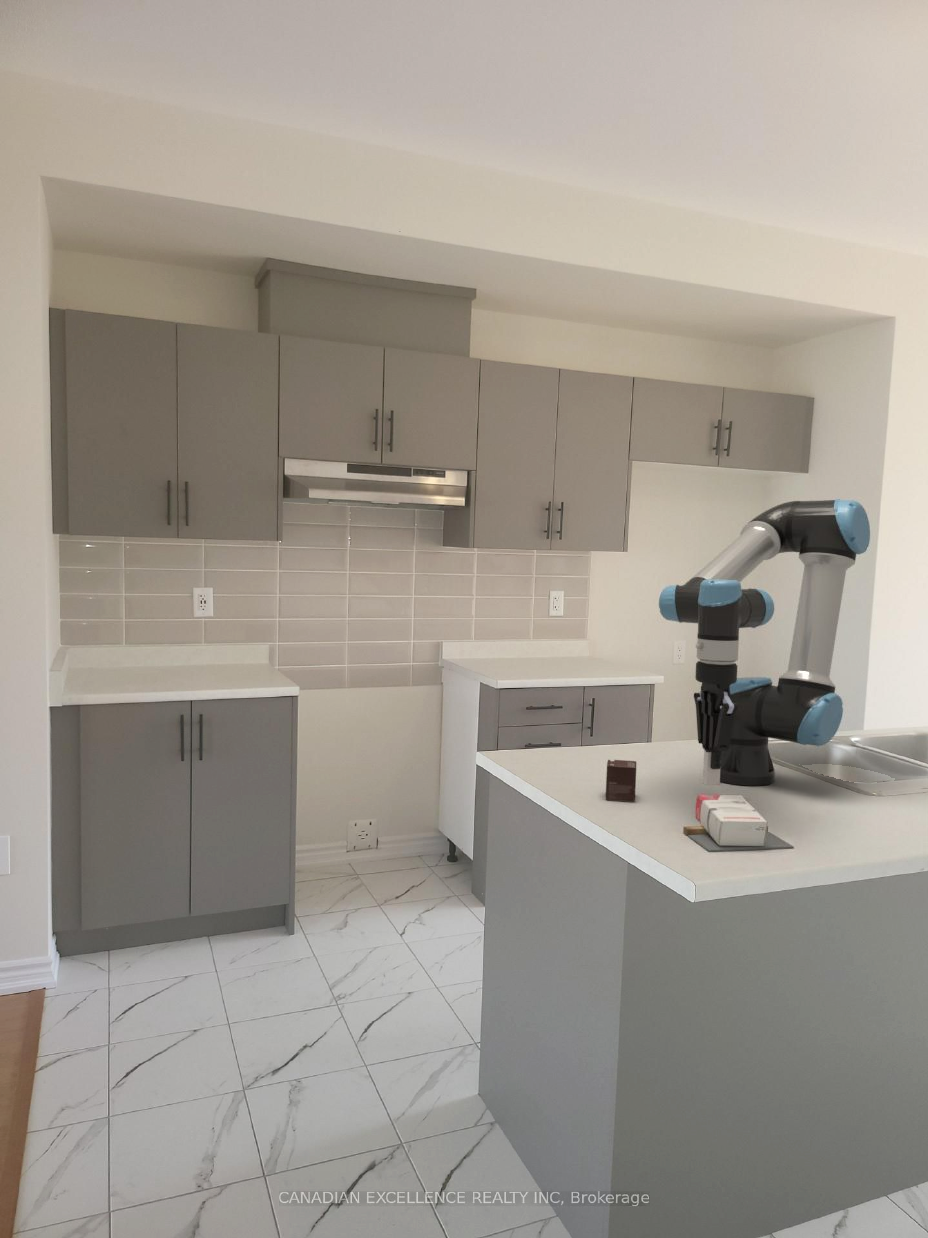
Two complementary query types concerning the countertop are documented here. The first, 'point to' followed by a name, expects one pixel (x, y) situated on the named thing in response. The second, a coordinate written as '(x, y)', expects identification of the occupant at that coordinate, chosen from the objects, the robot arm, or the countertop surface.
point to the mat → (712, 846)
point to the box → (621, 780)
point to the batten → (697, 830)
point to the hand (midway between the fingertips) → (711, 784)
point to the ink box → (731, 820)
